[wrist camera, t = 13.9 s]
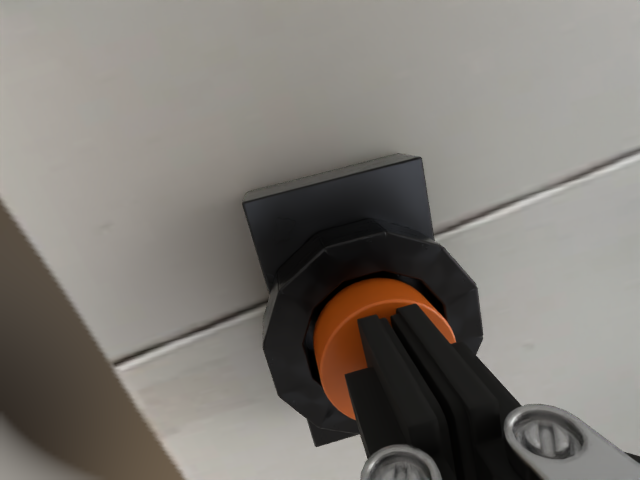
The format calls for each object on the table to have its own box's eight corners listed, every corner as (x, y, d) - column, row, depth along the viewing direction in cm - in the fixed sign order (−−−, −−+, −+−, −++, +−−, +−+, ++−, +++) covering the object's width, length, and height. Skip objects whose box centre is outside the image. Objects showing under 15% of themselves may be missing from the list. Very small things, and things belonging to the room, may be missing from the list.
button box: (233, 195, 14) (220, 218, 10) (411, 150, 15) (462, 156, 11) (299, 412, 17) (309, 493, 13) (446, 369, 17) (497, 435, 14)
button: (299, 296, 12) (304, 323, 10) (423, 261, 12) (449, 282, 10) (328, 402, 13) (337, 442, 11) (441, 369, 13) (466, 403, 11)
